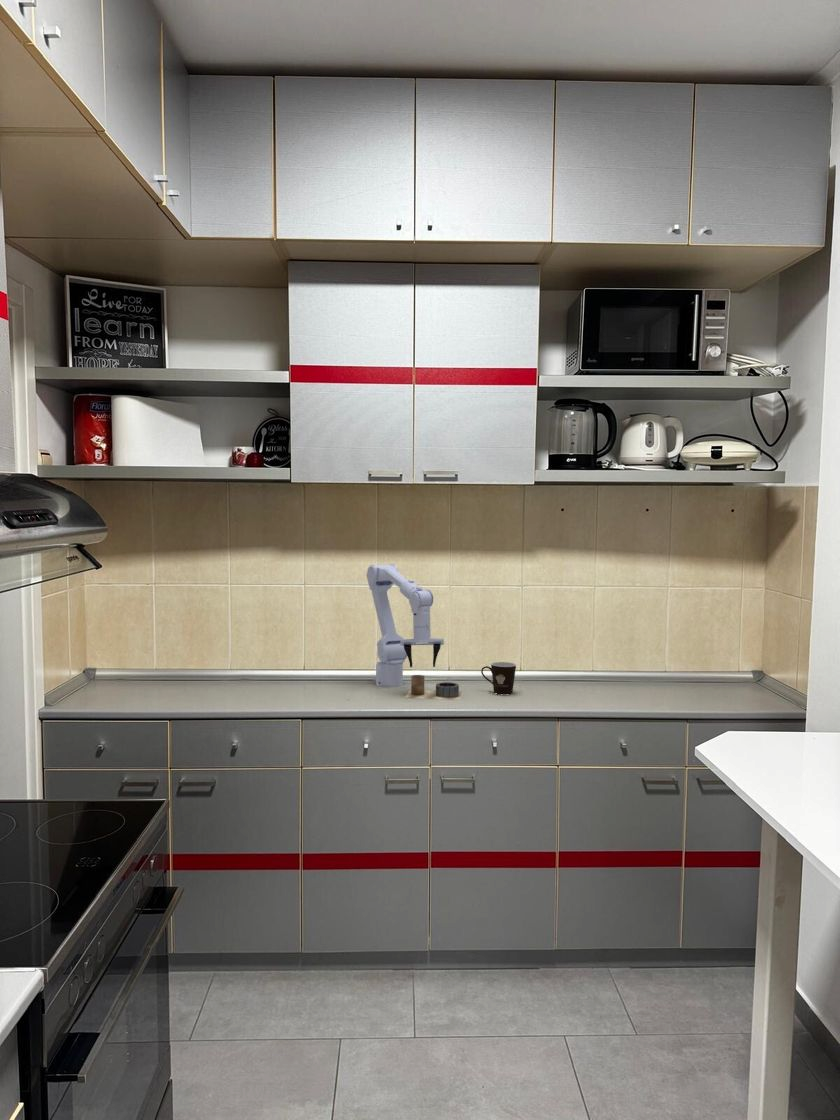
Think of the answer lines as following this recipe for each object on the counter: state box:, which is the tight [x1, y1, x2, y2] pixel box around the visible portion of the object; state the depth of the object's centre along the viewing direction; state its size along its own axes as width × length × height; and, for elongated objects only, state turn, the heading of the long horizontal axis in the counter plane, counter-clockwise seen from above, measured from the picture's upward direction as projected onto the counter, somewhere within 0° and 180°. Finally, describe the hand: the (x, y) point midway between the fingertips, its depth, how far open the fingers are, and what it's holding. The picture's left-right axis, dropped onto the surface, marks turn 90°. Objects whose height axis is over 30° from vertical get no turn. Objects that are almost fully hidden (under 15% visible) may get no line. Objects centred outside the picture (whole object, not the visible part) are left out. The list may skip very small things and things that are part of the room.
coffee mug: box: [480, 661, 517, 695], centre depth 282 cm, size 12×9×10 cm
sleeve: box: [435, 681, 460, 698], centre depth 272 cm, size 8×8×4 cm
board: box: [404, 689, 462, 701], centre depth 273 cm, size 18×12×1 cm, turn 84°
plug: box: [410, 674, 425, 696], centre depth 273 cm, size 4×4×6 cm
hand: (422, 666), depth 273 cm, fingers open, 7 cm apart
